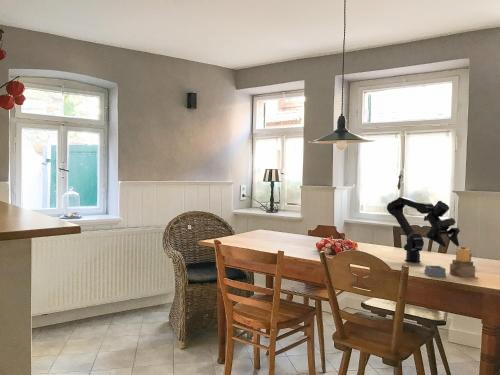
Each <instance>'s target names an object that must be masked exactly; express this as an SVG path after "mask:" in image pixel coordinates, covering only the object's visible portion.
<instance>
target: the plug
mask: <svg viewBox="0 0 500 375" xmlns="http://www.w3.org/2000/svg"><path fill="white" fill-rule="evenodd" d="M470 250H471V248H467V246H466V247H465V246H460V247H458V248H456V252H457V261H461V262H469V254H470Z"/></svg>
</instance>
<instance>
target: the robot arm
mask: <svg viewBox="0 0 500 375" xmlns="http://www.w3.org/2000/svg"><path fill="white" fill-rule="evenodd" d="M406 206H407V207H410V208H412V209H415V210H416V211H417V212H418V213H420V214H423V215H424V218H423V221H424V222H428V223H429V225H430V229H429V230H428V231H427V232H426V234H425V235H426V238H427V239H428V240H430V241H433V242H435V243H436V244H438V245H440V246H442V247H444V248H446V247H447V245H446V243H445V241H444V240H443V237H442V236H444V235H445V236H446V237H447V238H448V240H449V241H450V242H452V243H453V245H455V246H456V247H459V246H460V244H459V242H460V241H459V239H458V234H459V233H460V232H461V230H460V228H458V227H452V226H455V224H456V220H455V219H454V218H452V217H451V218H445V219H444V220H441V218H442V217H444V215H445V214H446V213H447V212H448V211H449V210H450V206H449V205H448V204H446V203H445V202H443V201H442V200H438V201H437V202H436V204H435V205H434V204H433V203H430V202H420V201H417V200H415V199H412V198H408V197H406V196H399V197H397V198H396V199H395V200H392V201H391V202H389V203H387V206H386V210H387V213H389V214H390V215H391V216H392V217H394V218H395V220H396V221H397V223H398V225H399V226H400V228H401V230H402V231H403V233H404V234H405V237H406V244H404V245H403V250H404V251H406V252H405V253H406V256H405V257H406V258H405V259H404V261H406V262H409V263H414V264H415V263H420V262H421V258H420V257H421V254H420V251H422V250H423V247H424V245H425V241H424V238H423V237H422V234H420V233H416V232H415V231H414V230H413V228H412V226H411V225H410V223H409V220H408V219H407V218H406V217H405V214H404V208H405V207H406ZM426 214H427V215H426Z"/></svg>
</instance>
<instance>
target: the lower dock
mask: <svg viewBox="0 0 500 375" xmlns="http://www.w3.org/2000/svg"><path fill="white" fill-rule="evenodd" d="M424 274H425V275H427V276H428V277H429V278H447V273H446V268H445V267H442V266H441V265H425V269H424Z"/></svg>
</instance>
